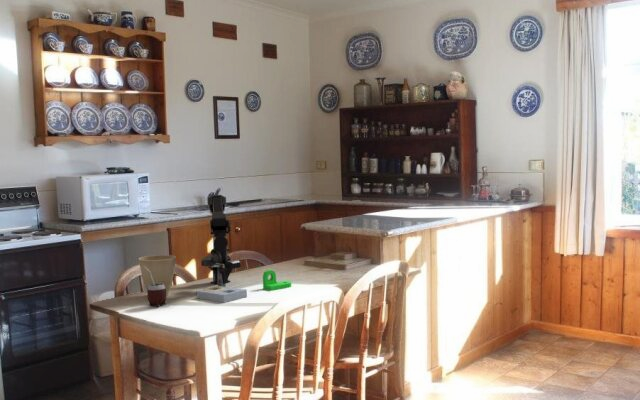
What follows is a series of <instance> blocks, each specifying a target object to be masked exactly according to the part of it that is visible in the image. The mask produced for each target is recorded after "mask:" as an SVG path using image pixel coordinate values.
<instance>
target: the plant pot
mask: <svg viewBox="0 0 640 400" xmlns="http://www.w3.org/2000/svg"><path fill="white" fill-rule="evenodd" d="M176 259H177V257H176V256H175V255H170V254H169V255H168V254H166V255H165V254H159V255H157V254H156V255H145V256H141V257H139V258H138V263H139V269H140V273H141V276H142V280H143V283H144V286H145V289H146V291H148V287H149V285H151V284H153V283H152V280H151V277H150V275H149V272H148V271H147V270H146V269H145V268H144V266H145V267H146V268H147V269H148V270H149V271H150V272H151V275H152V278H153V281H154V284H163V285H164V286H165V288H166V297H167V296H168V295H169V292H170V289H171V287H172V282H173V279H174V273H175V269H176V268H175V267H176Z"/></svg>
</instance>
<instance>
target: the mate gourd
mask: <svg viewBox="0 0 640 400" xmlns="http://www.w3.org/2000/svg"><path fill="white" fill-rule="evenodd" d="M144 268H145V269H146V270H147V271H148V272H149V275H150V277H151V280H152V283H153V284H151V285H149V287H148V291H147V290H146V291H147V292H146V293H147V300H148V307H156V308H159V307H160V306H166V305H167V303H166V299H167V296H166V288H165V286H164V285H163V284H154V281H153V278H152V275H151V272H150V271H149V270H148V269H147V268H146V267H145V266H144Z"/></svg>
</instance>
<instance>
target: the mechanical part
mask: <svg viewBox="0 0 640 400" xmlns="http://www.w3.org/2000/svg"><path fill="white" fill-rule="evenodd" d="M269 276H270V278H269ZM291 287H292V281H288V280H283V281H281V280H280V281H277V274H276V272H275V271H274V270H272V269H266V270H264V272H263V274H262V288H263V290H266V291H273V292H274V291H277V290H283V289H287V288H291Z"/></svg>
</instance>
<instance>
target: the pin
mask: <svg viewBox="0 0 640 400" xmlns="http://www.w3.org/2000/svg"><path fill="white" fill-rule="evenodd" d="M221 268H223V267H217V275H218V284H217V286H224V287H227V286H226V284H227V283H226V284H223V278H222V271H221V270H220V269H221Z"/></svg>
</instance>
